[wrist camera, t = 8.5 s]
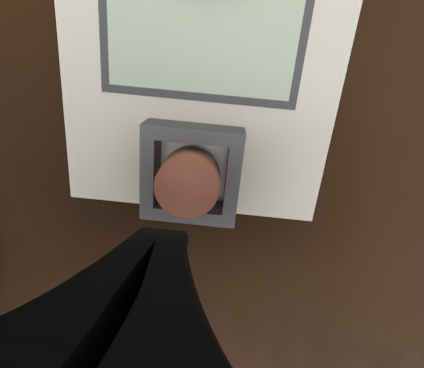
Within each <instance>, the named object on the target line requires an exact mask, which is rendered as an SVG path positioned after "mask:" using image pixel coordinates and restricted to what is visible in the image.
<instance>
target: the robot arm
mask: <svg viewBox="0 0 424 368" xmlns="http://www.w3.org/2000/svg"><path fill="white" fill-rule="evenodd" d="M187 244H188V235H187V234H186V233H185V231H175V230H165V229H156V228H146V227H143V228H141V229H140V230H138V231H137V232H136V233H134V234H133V235H132V236H130V237H129V238H128V239H126V240H125V241H124V242H122V243H121V244H120V245H118V246H117V247H116V248H114V249H113V250H112V251H110V252H109V253H107V254H106V255H105V256H103V257H102V258H100V259H99V260H98V261H96V262H95V263H93V264H92V265H90V266H89V267H87V268H85V269H84V270H82V271H81V272H79V273H78V274H76V275H75V276H73V277H72V278H70V279H68V280H67V281H65V282H64V283H62V284H60V285H59V286H57V287H55V288H53V289H52V290H50V291H48V292H46V293H45V294H43V295H41V296H39V297H37V298H35V299H33V300H31V301H30V302H28V303H26V304H24V305H22V306H20V307H18V308H16V309H14V310H12V311H10V312H8V313H6V314H3V315H1V316H0V368H232V366H231V364H230V363H229V361H228V359H227V357H226V356H225V354H224V352H223V350H222V348H221V346H220V344H219V342H218V340H217V338H216V336H215V334H214V332H213V330H212V328H211V326H210V324H209V322H208V319H207V317H206V315H205V312H204V310H203V307H202V305H201V302H200V299H199V297H198V294H197V291H196V288H195V285H194V281H193V278H192V274H191V270H190V266H189V261H188V254H187Z"/></svg>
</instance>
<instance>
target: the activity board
mask: <svg viewBox="0 0 424 368" xmlns="http://www.w3.org/2000/svg"><path fill="white" fill-rule="evenodd" d="M362 1H363V0H54V2H55V14H56V26H57V38H58V49H59V61H60V73H61V85H62V97H63V108H64V120H65V132H66V144H67V156H68V168H69V179H70V191H71V197H79V198H89V199H98V200H108V201H118V202H128V203H138V204H139V219H144V220H154V221H164V222H174V223H183V224H193V225H203V226H212V227H222V228H232V229H234V226H235V218H236V214H245V215H255V216H265V217H275V218H285V219H294V220H304V221H312V218H313V214H314V210H315V205H316V201H317V197H318V192H319V188H320V184H321V179H322V175H323V171H324V166H325V162H326V158H327V153H328V149H329V145H330V140H331V136H332V131H333V127H334V123H335V118H336V114H337V110H338V105H339V101H340V97H341V92H342V88H343V84H344V79H345V75H346V71H347V66H348V62H349V58H350V53H351V49H352V45H353V40H354V36H355V32H356V27H357V23H358V19H359V14H360V10H361V6H362ZM187 146H194V147H199V148H202V149H204V150H206V151H207V152H209V153H210V154H211V155H212V156H213V157H214V158H215V160H216V161H217V163H218V166H219V169H220V185H219V195H218V199H217V201H216V203H215V205H214V206H213V208H212V209H211V210H210V211H208V212H207V213H206V214H204V215H202V216H200V217H197V218H190V219H186V218H179V217H176V216H174V215H171V214H170V213H168V212H167V211H165V210H164V209H163V208H162V207H161V206H160V204H159V203H158V201H157V199H156V197H155V194H154V180H155V177H156V174H157V172H158V171H159V169H160V168H161V166H162V165H163V163H164V162H165V160H166V159H167V157H168V156H169V155H170V154H171V153H172V152H173V151H175V150H177V149H179V148H181V147H187Z"/></svg>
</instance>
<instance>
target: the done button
mask: <svg viewBox="0 0 424 368" xmlns="http://www.w3.org/2000/svg"><path fill="white" fill-rule="evenodd" d="M219 185H220V169H219V166H218V163H217V161H216V160H215V158H214V157H213V156H212V155H211V154H210V153H209V152H207V151H206V150H204V149H202V148H199V147H194V146H187V147H181V148H179V149H177V150H175V151H173V152H172V153H171V154H170V155H169V156H168V157H167V159H166V160H165V162H164V163H163V165H162V166H161V168H160V169H159V171H158V172H157V174H156V177H155V180H154V194H155V197H156V199H157V201H158V203H159V204H160V206H161V207H162V208H163V209H164V210H165V211H167V212H168V213H170V214H171V215H174V216H176V217H179V218H186V219H190V218H197V217H200V216H202V215H204V214H206V213H207V212H208V211H210V210H211V209H212V208H213V206H214V205H215V203H216V201H217V199H218V195H219Z"/></svg>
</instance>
